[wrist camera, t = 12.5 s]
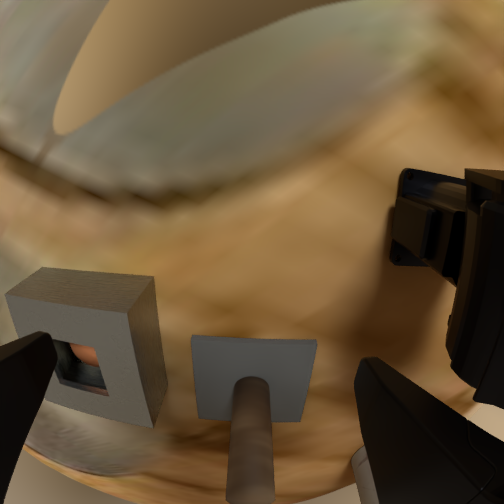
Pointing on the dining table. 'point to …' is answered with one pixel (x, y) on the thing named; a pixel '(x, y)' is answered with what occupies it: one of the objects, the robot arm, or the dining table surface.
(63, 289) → the plate
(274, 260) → the dining table surface
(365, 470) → the thermos bottle
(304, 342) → the pad
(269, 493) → the brown cylinder rod
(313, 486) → the dining table surface
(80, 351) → the orange rounded dome
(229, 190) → the dining table surface
